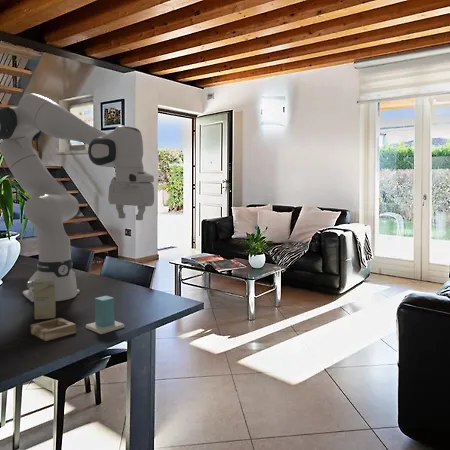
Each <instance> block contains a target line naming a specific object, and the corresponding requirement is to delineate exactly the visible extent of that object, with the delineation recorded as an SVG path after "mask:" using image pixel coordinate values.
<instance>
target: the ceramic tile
mask: <svg viewBox="0 0 450 450" xmlns="http://www.w3.org/2000/svg"><path fill="white" fill-rule="evenodd" d="M123 328H125V324H124V323H122V322H121V321H117V320H115V324H113V325H110V326H106V327H101V326H98V325H96V324H95V321H94V322H91V323H87V324H85V329H87V330H89V331H92V332H95V333H97V334H99V335H103V334H107V333H109V332H113V331H117V330H121V329H123Z"/></svg>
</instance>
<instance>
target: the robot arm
mask: <svg viewBox="0 0 450 450" xmlns="http://www.w3.org/2000/svg"><path fill="white" fill-rule="evenodd" d="M43 134H45V135H48V136H50V137H52V138H56V139H60V140H68V141H75V142H80V143H82V144H85V145H87V146H88V147H87V155H88V158H89V159H90V161H91V163H92V164H94V165H96V166H98V167H106V168H115V176H114V177H112V178H111V181H110V183H109V188H108V196H107V198H108V202H109V205H115V209H116V211H117V215H118V219H122V220H123V219H125V218H126V212H125V211H124V206H134V207H137V211H138V212H137V214H135V220H136V221H143V219H144V214H145V212H146V207H152V206H153V205H154V203H155V187H154V184H153V183H154V181H155V177H154V175H152V174H151V173H148V172H146V171H144V164H143V157H144V141H143V135H142V132H141V130H139V129H138V128H136V127H131V126H127V125H117V126H116V127H115V129H113V130H112V131H110V132H108V133H107V134H106V133H105V132H103V131H101V130H99V129H96V128H95V127H94V126H92V125H90V124H88V123H87V122H86V121H84V120H82V119H81V118H79V117H77V116H76V115H74V113H72V112H70V111H69V110H68V109H66V108H65V107H64V106H62V105H61V104H59V103H57V102H56V101H53V100H52V99H49V98H48V97H46V96H43V95H41V94H37V93H27V94H25V95H23V96H22V97H21V99H20V100H19V102H18V105H14V106H4V107H3V106H1V107H0V140H1V141H0V153H1V155H2V157H3V159H4V160H3V161H4V162H5V163H6V165H7V167H8V169H9V170H10V172H11V174H12V175H13V177H14V178H15V180H16V182H17V183H18V185H19V186H20V188H21V189H22V190H23V191H25V192H26V193H28V194H29V195H31V196H32V197H30V198H28V199H27V200H26V202H25V203H24V205H23V206H24V207H23V212H24V215H25V217H26V218H27V220H28V221H29V222H30V223H31V224H32V227H33V229H34V231H35V234H36V239H37V244H38V245H37V247H38V260H37V261H36V262H37V263H36V271H35V272H34V273H33V275H32V276H31V277H29V279H28V281H27V282H26V287H27V288H28V289H26V290H23V291H22V295H23V296H24V297H25V298H26V299H28V300H29V301H30V302H31V303H34V280H35V279H50V278H55V302H61V301H66V300H67V301H68V300H70V299H73V298H76V297H77V295H78V294H80V289H78V286H77V285H78V284H77V277H76V272H75V271H74V270H73V258H71V257H72V256H71V254H72V253H71V252H72V251H71V239H70V237H69V234H67V232H66V231H65V230H66V229H65V228H64V224H63V222H66V221H70V220H71V219H72V218H74V217H75V216H77V214H78V211H80V205H79V204H80V203H79V201H78V200H77V198H76V197H75V196H74V195H72V194H71V193H69V192H68V191H67V190H66V189H65V188H64V187H63V186H62V185H61V184H60V183H59V182H58V181H57V179H55V178H54V177H53V176H52V174H51V173H50V172H49V170H48V169H47V167H46V166H45V164H44V163H43V161H42V160H41V158H40V156H39V155H38V154H37V152H36V150H35V149H34V147H33V143H32V141H33V142H34V141H35V142H37V141H39V139H40V137H41V135H43Z"/></svg>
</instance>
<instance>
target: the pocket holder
mask: <svg viewBox="0 0 450 450" xmlns="http://www.w3.org/2000/svg"><path fill="white" fill-rule="evenodd" d="M76 333H77V324H76V323H74V322H71V321H69V320H67V319H65V318H62V317H58V318H51V319H50V320H46V321H45V320H44V321H41V322H36V323H32V324H30V334H31V335H33V336H36V338H39V339H41V340H43V341H44V342H48V341H50V340H51V341H52V340H55V339H58V338H62V337H66V336H70V335H73V334H76Z"/></svg>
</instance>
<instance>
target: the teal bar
mask: <svg viewBox="0 0 450 450" xmlns="http://www.w3.org/2000/svg"><path fill="white" fill-rule="evenodd" d="M94 316H95V317H94V322H95V324H96V325H98V326H101V327H106V326H110V325H113V324H115V321H116V320H115V319H116V317H115V297H113V296H109V295H103V296H99V297H94Z"/></svg>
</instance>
